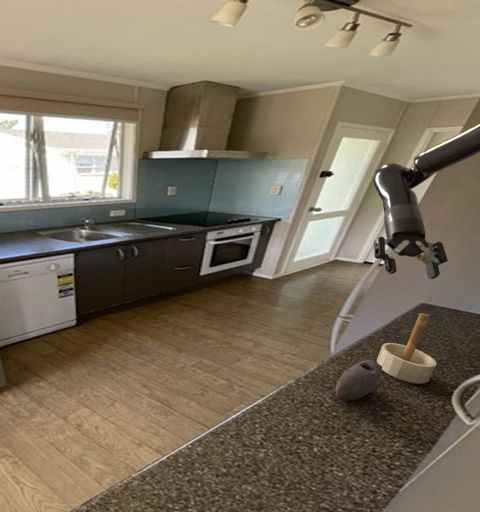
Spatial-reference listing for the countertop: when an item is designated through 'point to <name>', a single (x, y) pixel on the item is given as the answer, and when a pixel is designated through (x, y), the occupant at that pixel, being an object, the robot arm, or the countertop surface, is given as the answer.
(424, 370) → the bowl
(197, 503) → the countertop surface
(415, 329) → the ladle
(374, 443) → the countertop surface
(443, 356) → the countertop surface
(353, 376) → the perforated stone tool
